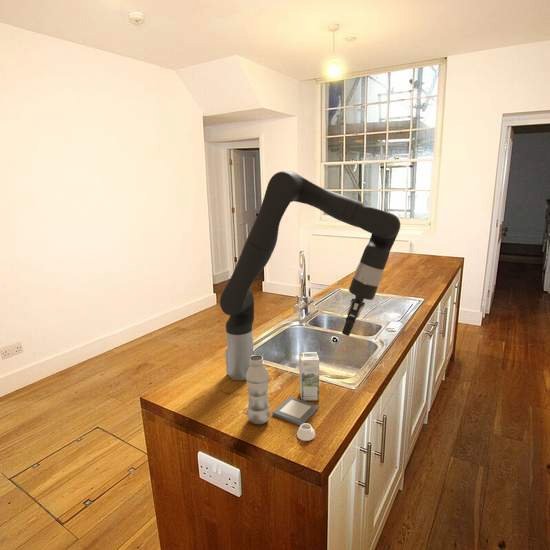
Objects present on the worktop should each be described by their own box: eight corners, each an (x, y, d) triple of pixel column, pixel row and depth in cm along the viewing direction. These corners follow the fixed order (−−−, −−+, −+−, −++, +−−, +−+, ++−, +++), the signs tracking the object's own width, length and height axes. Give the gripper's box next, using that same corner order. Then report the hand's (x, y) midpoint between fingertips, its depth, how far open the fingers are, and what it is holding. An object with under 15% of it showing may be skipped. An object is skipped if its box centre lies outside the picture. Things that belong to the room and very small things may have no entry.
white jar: (293, 436, 104) (307, 444, 101) (292, 427, 104) (307, 434, 100) (304, 427, 108) (318, 435, 105) (303, 418, 107) (318, 425, 104)
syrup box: (316, 391, 126) (316, 350, 123) (319, 401, 120) (319, 359, 117) (299, 392, 126) (299, 351, 122) (301, 402, 120) (300, 359, 117)
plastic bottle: (252, 412, 116) (249, 351, 111) (273, 415, 114) (271, 354, 109) (244, 425, 110) (240, 361, 105) (266, 429, 108) (264, 364, 103)
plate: (272, 415, 114) (272, 411, 114) (290, 399, 122) (290, 396, 122) (301, 426, 108) (301, 422, 108) (318, 408, 116) (318, 405, 116)
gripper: (356, 272, 118) (338, 320, 121) (350, 279, 104) (331, 332, 108) (380, 281, 116) (361, 329, 119) (377, 289, 102) (356, 342, 106)
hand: (347, 330), depth 114 cm, fingers open, 8 cm apart
